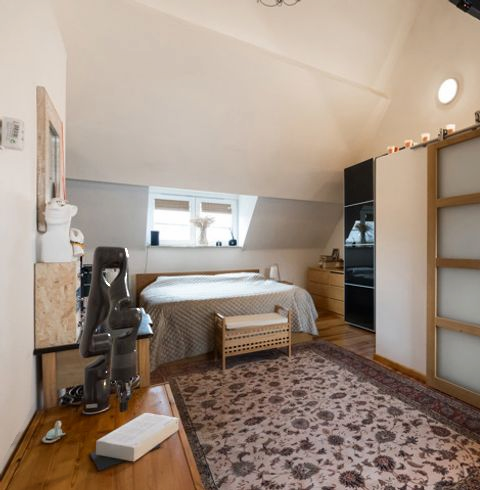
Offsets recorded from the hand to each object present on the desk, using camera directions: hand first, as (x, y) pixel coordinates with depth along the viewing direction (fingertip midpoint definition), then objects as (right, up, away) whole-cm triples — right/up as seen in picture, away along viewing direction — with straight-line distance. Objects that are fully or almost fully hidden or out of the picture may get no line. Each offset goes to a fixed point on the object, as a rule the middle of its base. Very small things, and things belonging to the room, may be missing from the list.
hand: (123, 411), depth 127 cm
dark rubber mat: (+2, -13, -2) cm, 14 cm away
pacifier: (-29, -12, +4) cm, 32 cm away
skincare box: (-4, -10, +4) cm, 11 cm away
